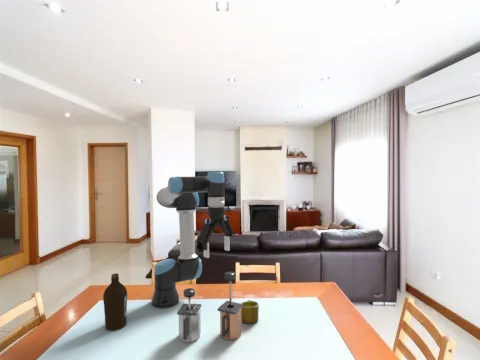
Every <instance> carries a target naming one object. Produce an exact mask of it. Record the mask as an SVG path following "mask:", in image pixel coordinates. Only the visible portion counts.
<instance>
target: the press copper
mask: <svg viewBox="0 0 480 360" xmlns="http://www.w3.org/2000/svg"><path fill="white" fill-rule="evenodd" d="M242 307H243V304H241V302H240V303H239V302H234V301H232V308H229V300H225V301H224V302H223V303H222V304H221V305H220V306H218V308H217V311H218V312H219V324H220V326H219V331H220V337H221V338H222V339H223V340H225V341H234V340H237V339H240V337H241V336H242V334H241V333H242V320H241V308H242Z"/></svg>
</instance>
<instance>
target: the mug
mask: <svg viewBox="0 0 480 360" xmlns="http://www.w3.org/2000/svg"><path fill="white" fill-rule="evenodd" d="M240 304H243V307H242V308H241V322H243V323H244V324H245V323H246V324H253V323H254V324H255V323H257V322H258V321H259V319H260V318H259V310H260V309H259V308H260V307H259V306H260V305H259V303H258V302H257V301H255V300H251V299H247V301H243V302H240Z"/></svg>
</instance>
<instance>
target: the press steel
mask: <svg viewBox="0 0 480 360" xmlns="http://www.w3.org/2000/svg"><path fill="white" fill-rule="evenodd" d="M201 308H202V303H191V310H188V303H182V304H181V306H180V307H179V309H178V310H177V312H176V313H177V314H176V315H177V316H178V337H179V340H180V341H181V342H183V343H186V344H187V343H189V344H190V343H194V342H197V341H198V340H199V339H200V338H201V334H202V333H201V331H202V329H201V321H202V320H201Z"/></svg>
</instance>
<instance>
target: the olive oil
mask: <svg viewBox="0 0 480 360" xmlns="http://www.w3.org/2000/svg"><path fill="white" fill-rule="evenodd" d="M110 280H111V281H110V283H109V285H108V286H107V287H106V288H105V290H104V292H103V296H102V297H103V298H102V300H103V311H104V312H103V313H104V325H105V326H104V327H105V329H106V330H107V331H119V330H121V329H123V328H125V326H127V318H128V317H127V312H128V311H127V310H128V309H127V306H128V291H127V290H128V289H127V288H126V286H125V285H124V284H123V283H121V282H120V277H119V273H112V274H111V277H110Z"/></svg>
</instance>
